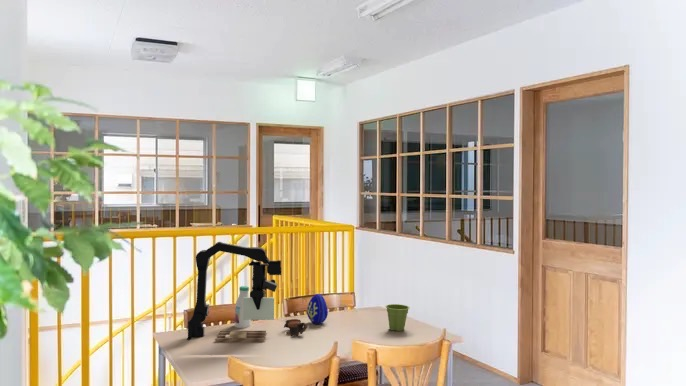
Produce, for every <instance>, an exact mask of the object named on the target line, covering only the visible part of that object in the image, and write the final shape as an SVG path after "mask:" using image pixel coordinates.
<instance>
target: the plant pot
mask: <svg viewBox="0 0 686 386" xmlns="http://www.w3.org/2000/svg"><path fill="white" fill-rule="evenodd" d="M385 308H386V312H387V317H388V328H389V330H391V331H397V332H400V331H404V330H405V326H406V321H407V317H408V313H409V309H410V306H408V305H405V304H399V303H398V304H396V303H395V304H394V303H393V304H392V303H391V304H386V305H385Z"/></svg>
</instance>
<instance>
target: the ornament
mask: <svg viewBox="0 0 686 386" xmlns="http://www.w3.org/2000/svg"><path fill="white" fill-rule="evenodd" d="M328 311H329V309H328V306H327V302H326V300H325V298H324V296H323V295H322V294H320V293H317V294H316V293H315V294H314V295H313V296H312V297H311V298H310V300H309V302H308V304H307V309H306V315H307V318H308V319H309V321H310V322H311V323H312V324H316V325H319V324H323V323H325V321H326V320H327V318H328V314H329V312H328Z"/></svg>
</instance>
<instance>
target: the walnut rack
mask: <svg viewBox="0 0 686 386" xmlns="http://www.w3.org/2000/svg"><path fill="white" fill-rule="evenodd" d="M231 331H232V330H219V332H218V334H217V335H216V337H215V338H214V339H215V340H214V342H213V343H265V342H266V340H267V335H268V332H267V330H246V331H247V334H246V335H247V337H246V338H225V336H226V335H230V332H231Z"/></svg>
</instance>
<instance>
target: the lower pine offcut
mask: <svg viewBox="0 0 686 386" xmlns="http://www.w3.org/2000/svg"><path fill="white" fill-rule="evenodd" d="M246 337H247V335H246ZM246 337H230V335H226V336H225V338H246Z"/></svg>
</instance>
